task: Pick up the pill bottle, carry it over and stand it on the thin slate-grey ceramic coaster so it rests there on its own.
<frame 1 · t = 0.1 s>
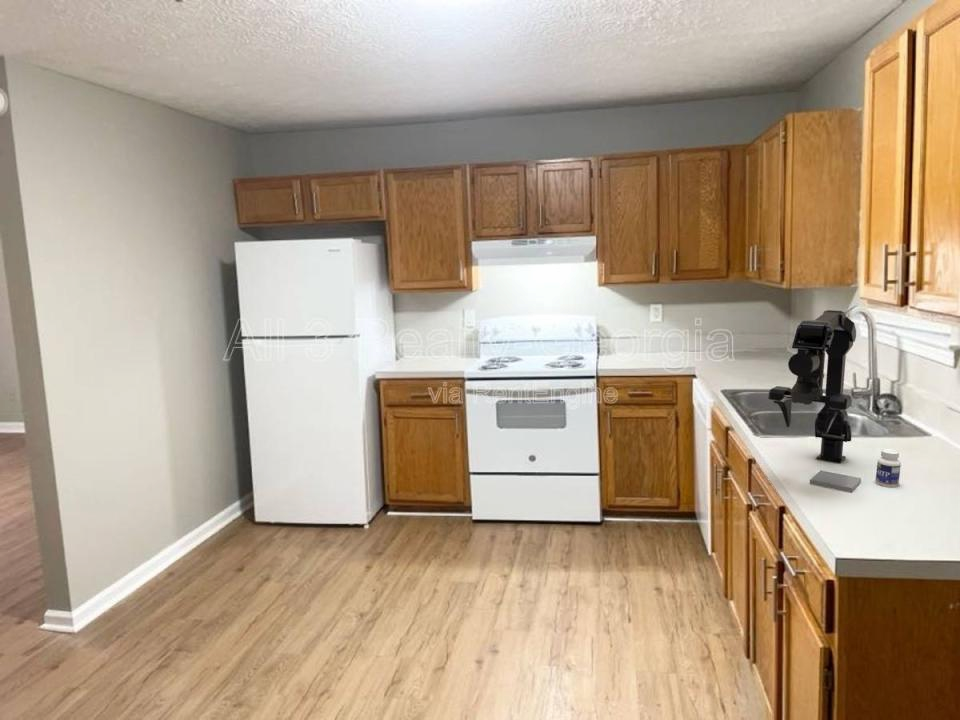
hand: (806, 430, 183), 15 cm above the countertop, fingers open, 9 cm apart
pill bottle: (886, 484, 185), on the countertop
ceramic coaster: (835, 483, 186), on the countertop
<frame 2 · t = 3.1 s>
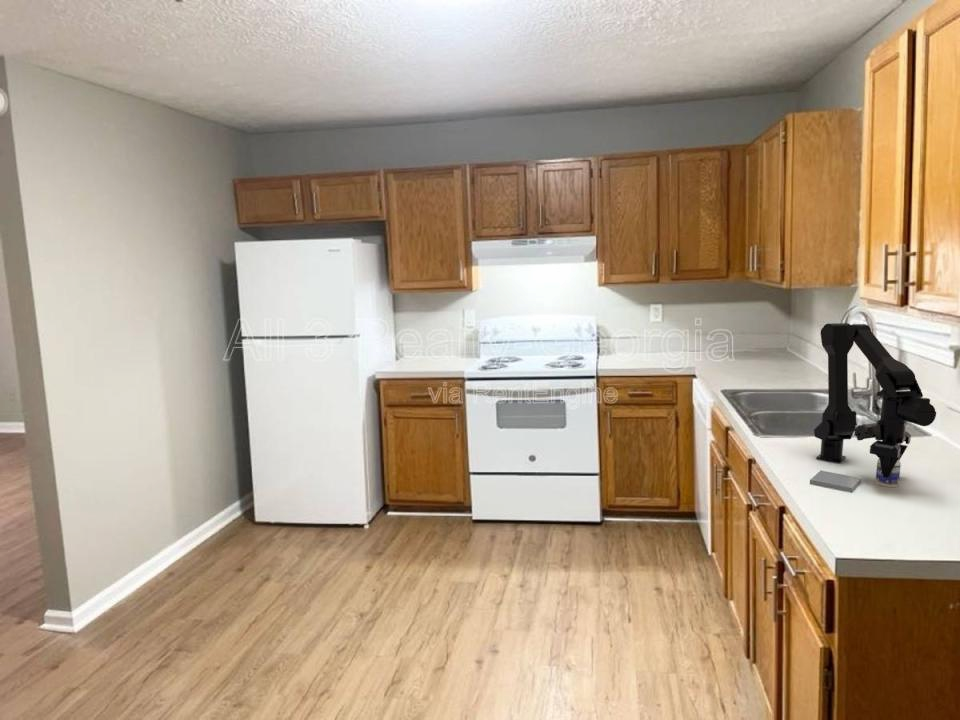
hand: (887, 474, 185), 3 cm above the countertop, fingers closed on pill bottle, 5 cm apart
pill bottle: (886, 484, 185), on the countertop, touching gripper
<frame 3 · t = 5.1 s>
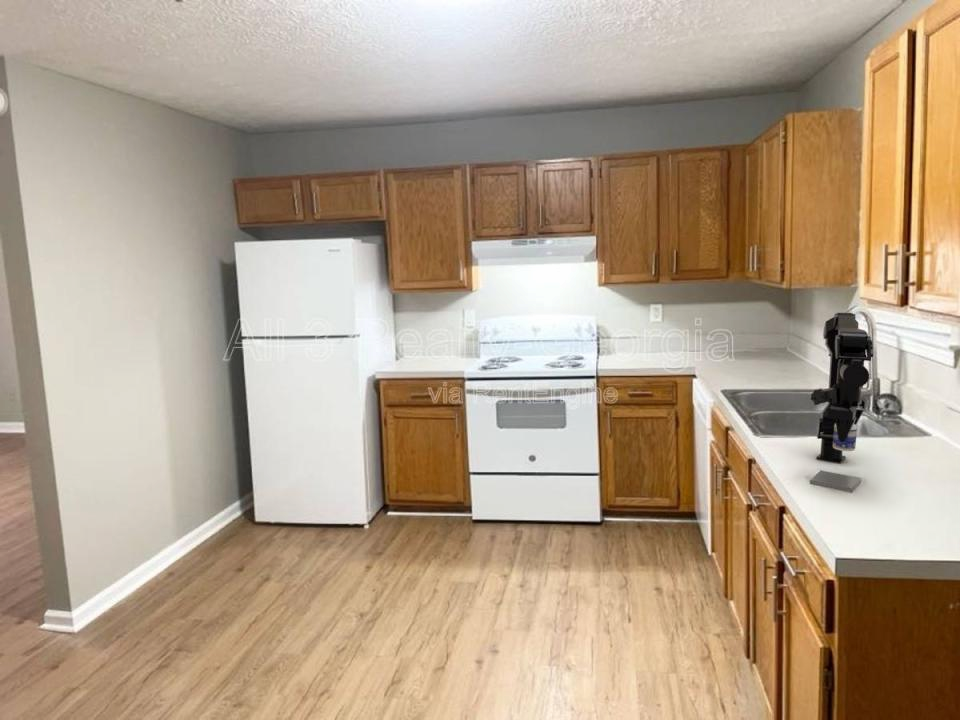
hand: (844, 439, 183), 12 cm above the countertop, fingers closed on pill bottle, 5 cm apart
pill bottle: (843, 449, 184), point 9 cm above the countertop, touching gripper
when the fingers open (4 cm above the countertop, at t = 7.4 s): pill bottle stays where it is, resting on ceramic coaster.
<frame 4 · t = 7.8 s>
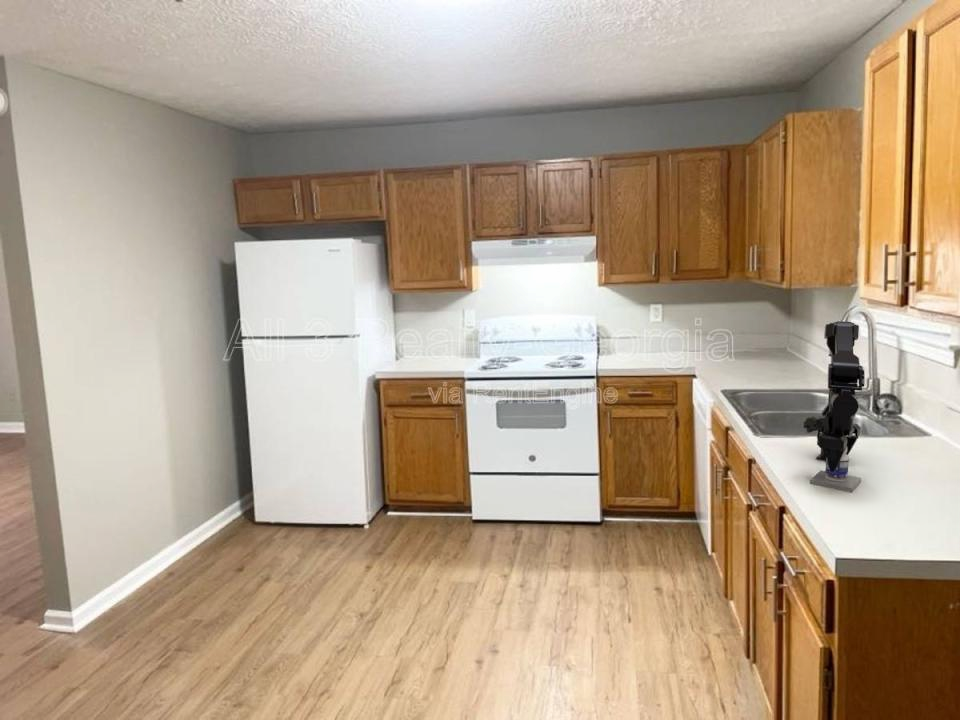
hand: (836, 466, 185), 4 cm above the countertop, fingers open, 9 cm apart
pill bottle: (835, 479, 186), point 1 cm above the countertop, touching ceramic coaster
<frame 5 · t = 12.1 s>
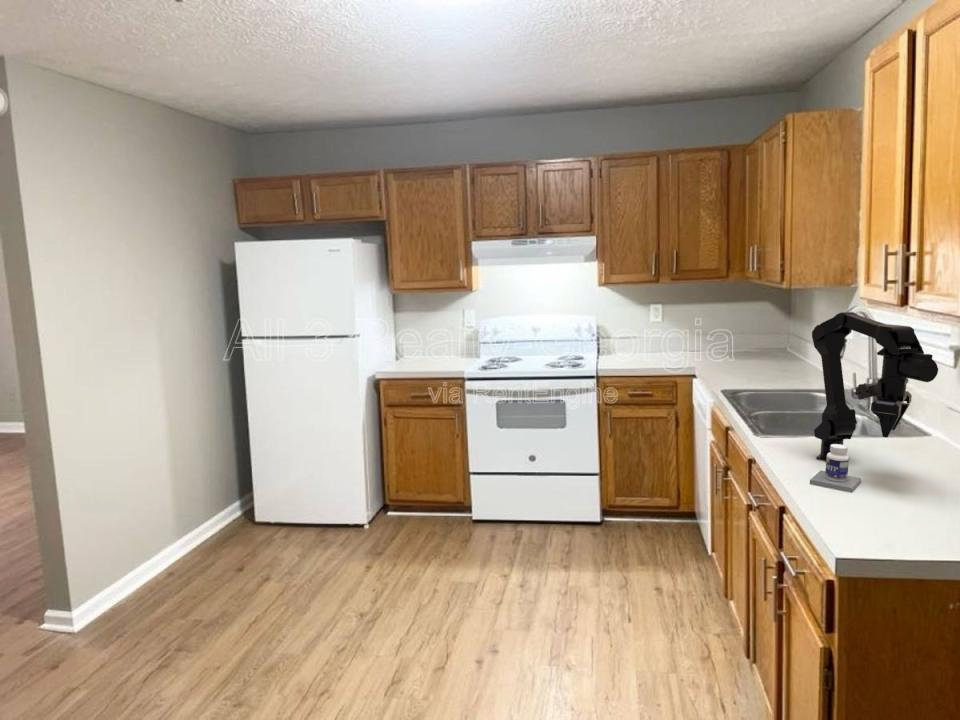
hand: (888, 433, 185), 13 cm above the countertop, fingers open, 9 cm apart
nothing on the countertop moved.
at the end: pill bottle inside the target area on the ceramic coaster (0.1 cm from its centre), point 1.0 cm above the ceramic coaster's base; pill bottle tilted 0°; the gripper is holding nothing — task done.
